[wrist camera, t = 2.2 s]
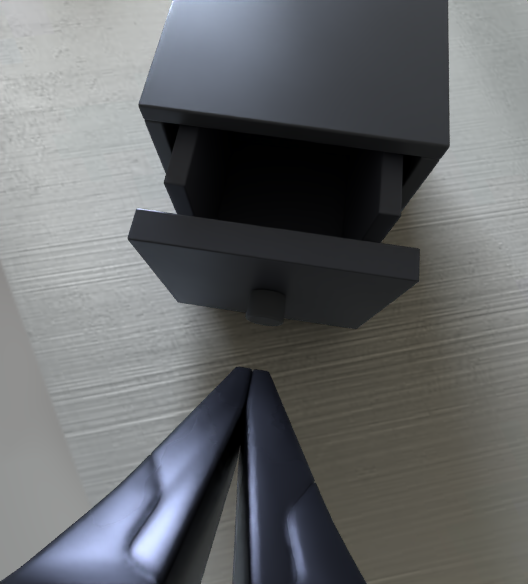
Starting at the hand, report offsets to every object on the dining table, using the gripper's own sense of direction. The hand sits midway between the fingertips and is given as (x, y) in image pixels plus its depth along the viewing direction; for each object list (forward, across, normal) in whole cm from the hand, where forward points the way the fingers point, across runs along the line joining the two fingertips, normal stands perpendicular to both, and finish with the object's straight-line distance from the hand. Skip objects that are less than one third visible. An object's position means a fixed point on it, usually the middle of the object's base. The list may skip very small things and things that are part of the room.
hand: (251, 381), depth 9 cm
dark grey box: (+17, 0, -3) cm, 18 cm away
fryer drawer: (+13, 0, 0) cm, 13 cm away
